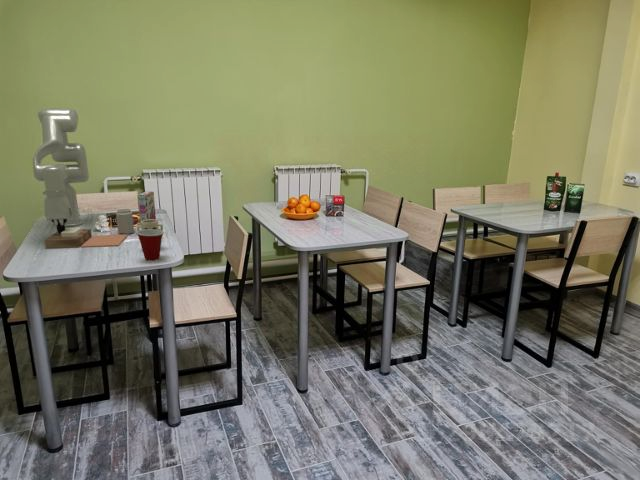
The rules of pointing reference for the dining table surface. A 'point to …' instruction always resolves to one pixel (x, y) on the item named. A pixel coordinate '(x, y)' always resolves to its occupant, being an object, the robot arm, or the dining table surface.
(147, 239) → the plastic cup
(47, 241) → the brown flat block
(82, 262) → the dining table surface
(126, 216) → the can
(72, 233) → the tile
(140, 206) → the candy bar box
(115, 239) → the mat
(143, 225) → the character mug
